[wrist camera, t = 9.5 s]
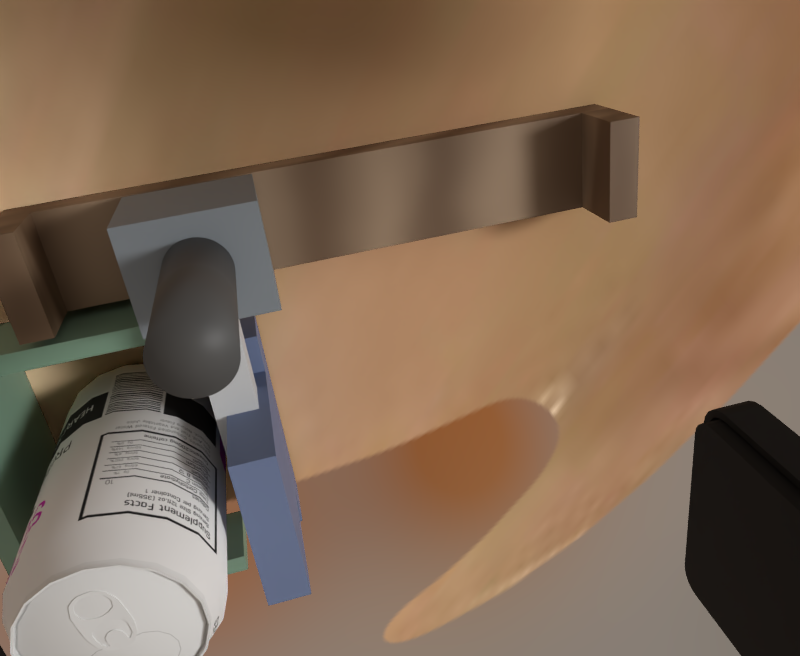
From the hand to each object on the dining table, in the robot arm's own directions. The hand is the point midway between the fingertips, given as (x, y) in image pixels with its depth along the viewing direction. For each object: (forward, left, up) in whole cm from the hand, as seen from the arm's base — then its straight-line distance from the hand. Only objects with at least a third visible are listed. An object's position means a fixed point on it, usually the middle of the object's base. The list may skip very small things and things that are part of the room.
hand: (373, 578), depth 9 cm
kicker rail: (-3, +3, -29) cm, 29 cm away
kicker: (+4, +10, -28) cm, 30 cm away
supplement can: (+9, +14, -29) cm, 33 cm away
